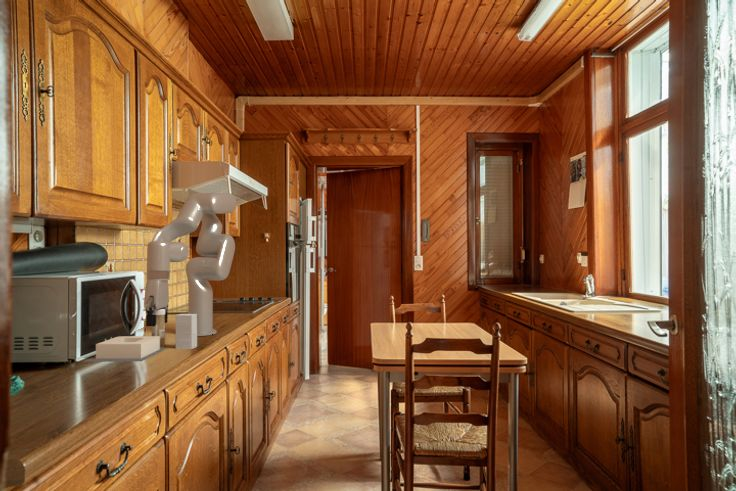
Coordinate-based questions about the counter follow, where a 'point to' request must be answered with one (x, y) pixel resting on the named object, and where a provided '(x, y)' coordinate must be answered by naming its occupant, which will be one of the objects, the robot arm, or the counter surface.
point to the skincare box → (186, 331)
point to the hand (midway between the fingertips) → (157, 324)
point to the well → (127, 347)
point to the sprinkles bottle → (160, 326)
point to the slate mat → (125, 358)
